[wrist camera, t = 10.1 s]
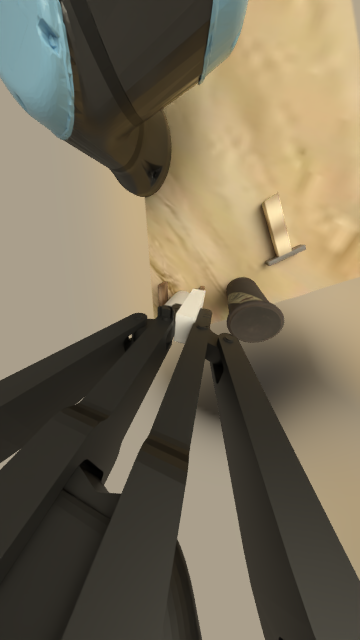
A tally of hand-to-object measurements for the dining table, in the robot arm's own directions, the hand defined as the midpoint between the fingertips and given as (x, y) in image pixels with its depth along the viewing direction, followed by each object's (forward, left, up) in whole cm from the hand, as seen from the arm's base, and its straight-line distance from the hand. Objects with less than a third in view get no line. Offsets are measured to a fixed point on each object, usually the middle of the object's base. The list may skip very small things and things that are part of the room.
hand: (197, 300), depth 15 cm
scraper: (-9, +13, -27) cm, 31 cm away
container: (+6, +10, -27) cm, 29 cm away
